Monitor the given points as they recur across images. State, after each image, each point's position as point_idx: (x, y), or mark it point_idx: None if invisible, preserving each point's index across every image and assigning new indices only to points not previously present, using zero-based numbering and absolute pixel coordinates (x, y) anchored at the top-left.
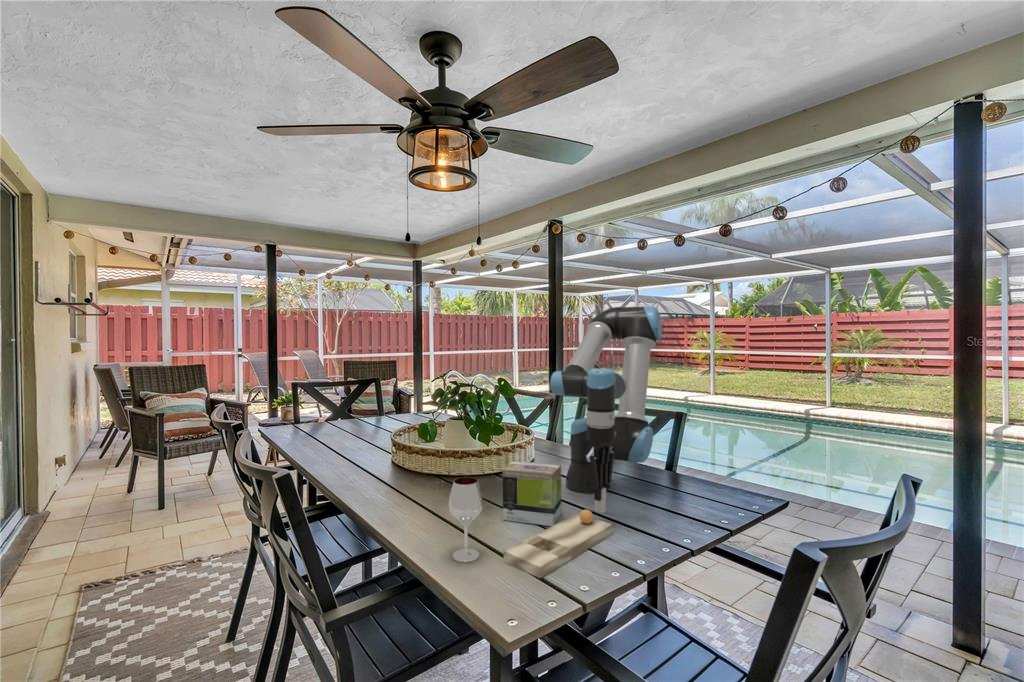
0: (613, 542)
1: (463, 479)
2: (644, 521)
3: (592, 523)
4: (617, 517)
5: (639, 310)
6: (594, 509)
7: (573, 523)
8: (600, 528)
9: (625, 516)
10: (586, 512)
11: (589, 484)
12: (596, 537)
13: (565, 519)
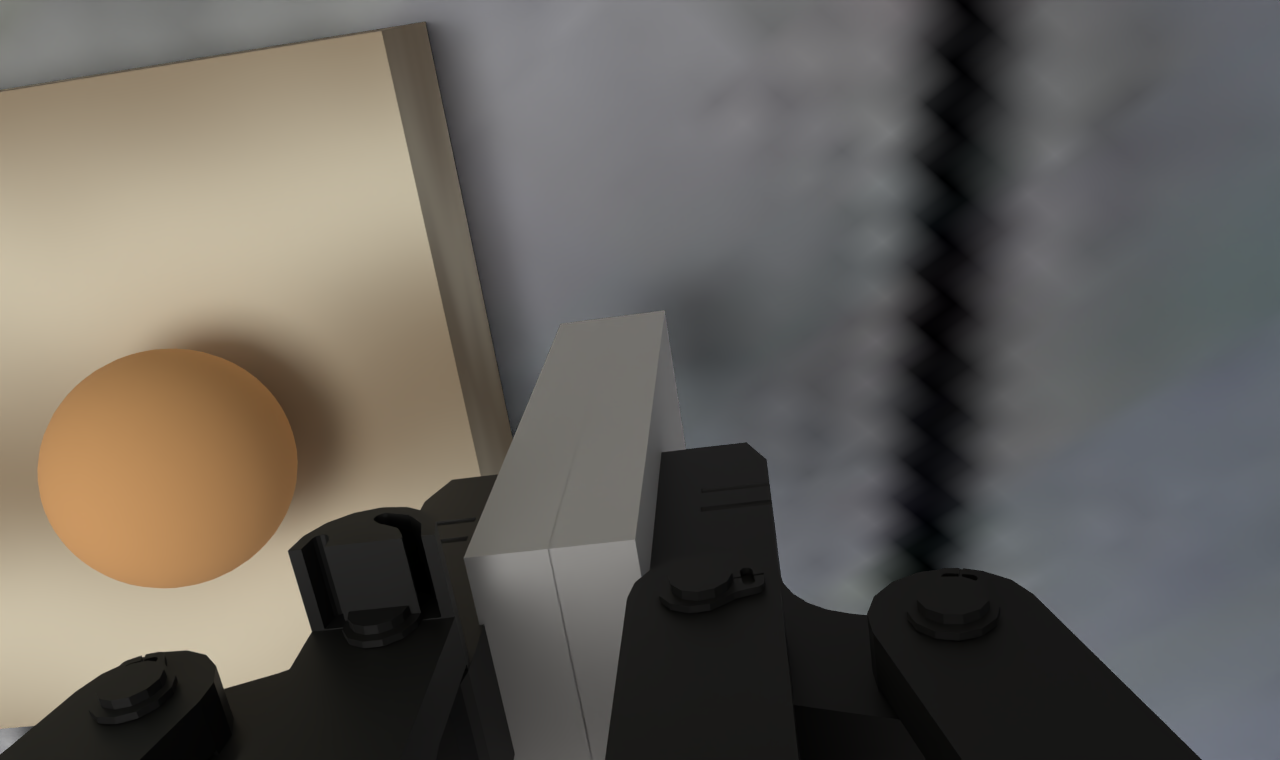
0: None
1: None
2: (1236, 651)
3: (298, 488)
4: (1090, 323)
5: None
6: (559, 328)
7: (31, 301)
8: (278, 659)
9: (1220, 380)
10: (83, 556)
11: (49, 730)
12: None
13: (2, 94)
